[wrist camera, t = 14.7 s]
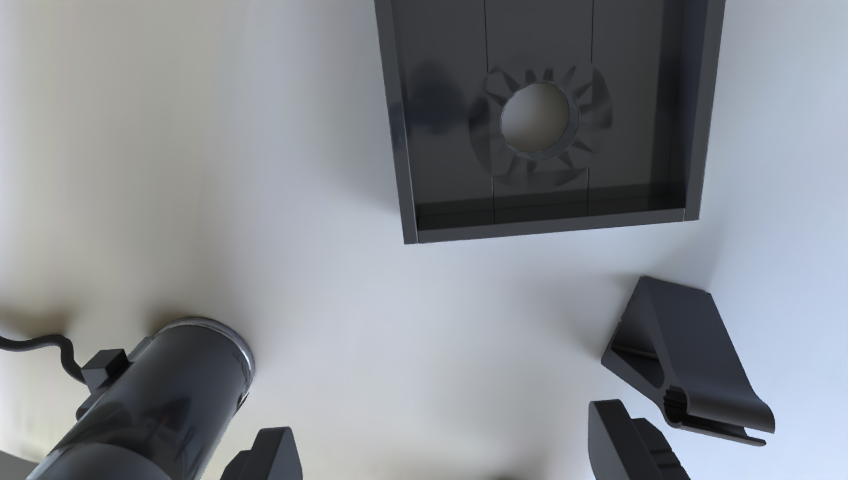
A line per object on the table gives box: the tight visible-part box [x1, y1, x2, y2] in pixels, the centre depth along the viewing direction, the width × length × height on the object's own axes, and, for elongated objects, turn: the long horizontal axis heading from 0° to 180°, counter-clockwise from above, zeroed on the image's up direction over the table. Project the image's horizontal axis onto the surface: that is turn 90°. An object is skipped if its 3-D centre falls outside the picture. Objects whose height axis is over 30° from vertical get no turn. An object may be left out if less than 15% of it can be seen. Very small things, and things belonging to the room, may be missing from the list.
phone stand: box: [601, 276, 775, 446], centre depth 38 cm, size 9×6×12 cm, turn 165°
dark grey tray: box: [374, 0, 726, 245], centre depth 30 cm, size 20×26×3 cm
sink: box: [395, 0, 684, 217], centre depth 33 cm, size 20×26×2 cm
